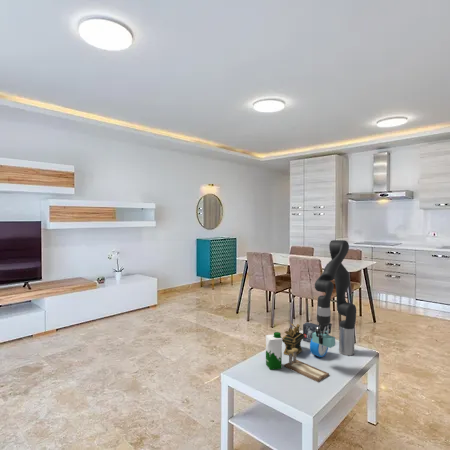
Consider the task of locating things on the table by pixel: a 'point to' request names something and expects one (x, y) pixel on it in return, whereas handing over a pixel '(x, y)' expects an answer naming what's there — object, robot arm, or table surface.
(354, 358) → the table surface
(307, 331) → the small box
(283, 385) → the table surface
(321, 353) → the alarm clock
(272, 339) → the milk carton
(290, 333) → the decorative box
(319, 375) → the board
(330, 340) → the teal rectangular prism
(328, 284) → the robot arm
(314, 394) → the table surface
